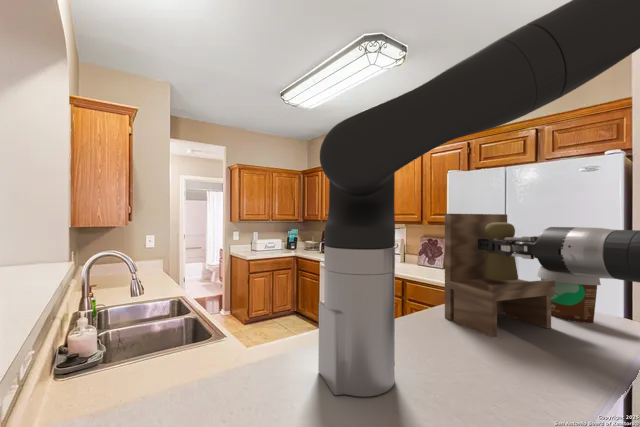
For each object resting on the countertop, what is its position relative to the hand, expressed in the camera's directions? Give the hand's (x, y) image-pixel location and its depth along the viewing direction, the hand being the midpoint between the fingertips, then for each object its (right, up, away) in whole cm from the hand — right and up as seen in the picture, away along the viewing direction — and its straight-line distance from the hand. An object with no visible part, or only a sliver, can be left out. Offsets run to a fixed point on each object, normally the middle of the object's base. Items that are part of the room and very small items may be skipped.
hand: (487, 243), depth 63 cm
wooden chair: (+1, -16, -3) cm, 16 cm away
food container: (+17, -16, +2) cm, 24 cm away
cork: (+1, -7, -3) cm, 7 cm away
